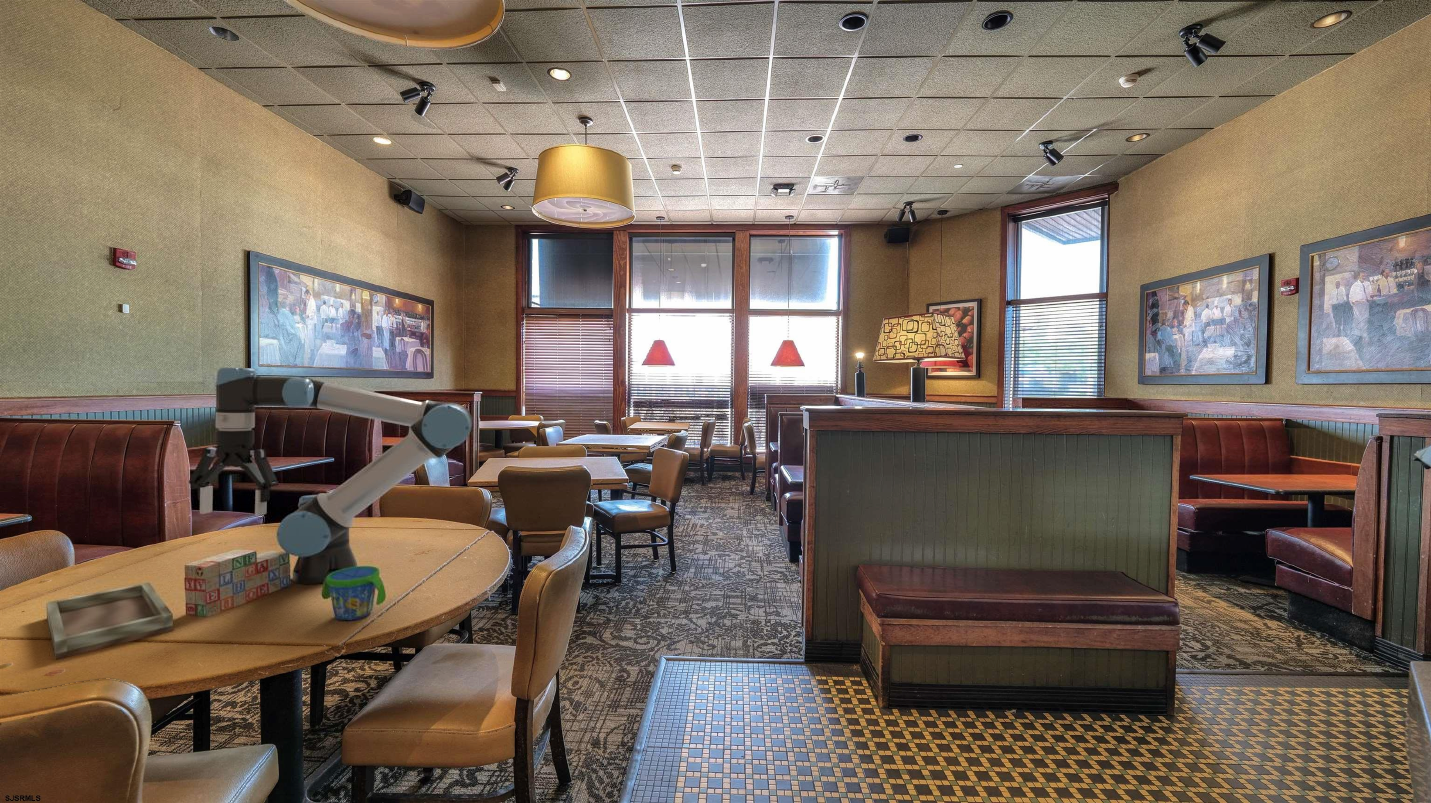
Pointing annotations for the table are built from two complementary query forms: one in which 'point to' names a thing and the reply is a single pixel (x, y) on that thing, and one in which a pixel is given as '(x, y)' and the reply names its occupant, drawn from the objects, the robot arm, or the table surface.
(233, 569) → the stack of blocks
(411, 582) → the table surface
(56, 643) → the grey rectangular tray
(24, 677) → the table surface
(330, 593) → the snack cup
